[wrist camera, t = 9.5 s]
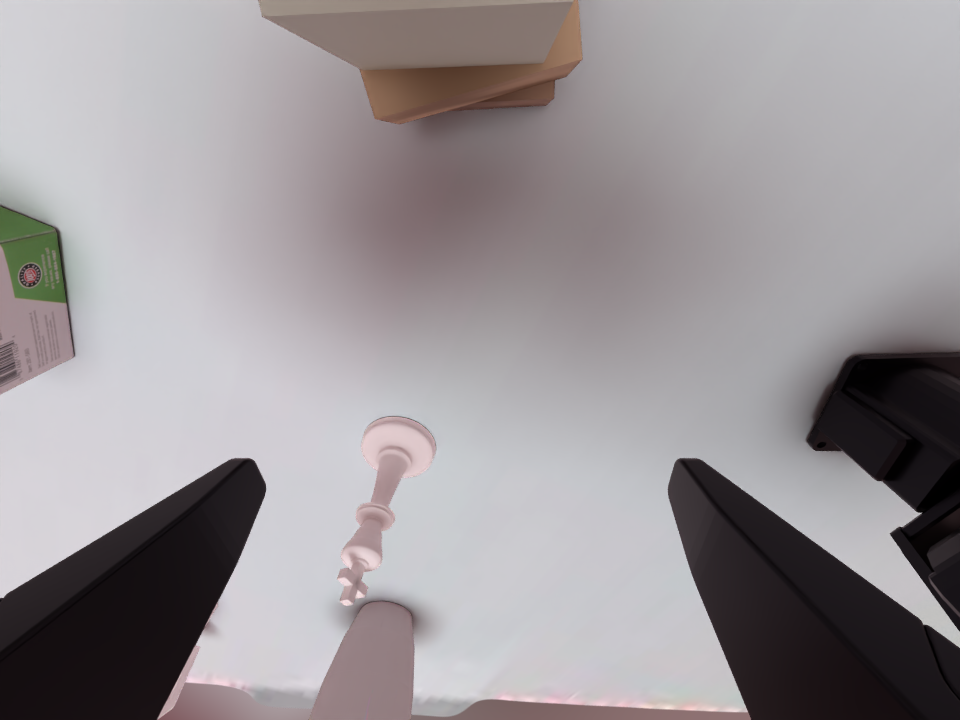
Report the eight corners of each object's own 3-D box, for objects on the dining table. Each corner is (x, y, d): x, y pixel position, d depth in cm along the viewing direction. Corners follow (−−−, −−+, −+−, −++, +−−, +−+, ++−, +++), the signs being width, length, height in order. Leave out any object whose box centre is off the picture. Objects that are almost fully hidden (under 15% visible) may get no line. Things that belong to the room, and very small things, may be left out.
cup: (327, 604, 36) (272, 750, 27) (394, 583, 34) (357, 736, 25) (379, 642, 39) (345, 782, 31) (443, 625, 37) (426, 773, 28)
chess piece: (387, 478, 27) (332, 637, 18) (348, 429, 25) (266, 582, 16) (448, 460, 26) (421, 621, 17) (413, 407, 23) (363, 560, 15)
